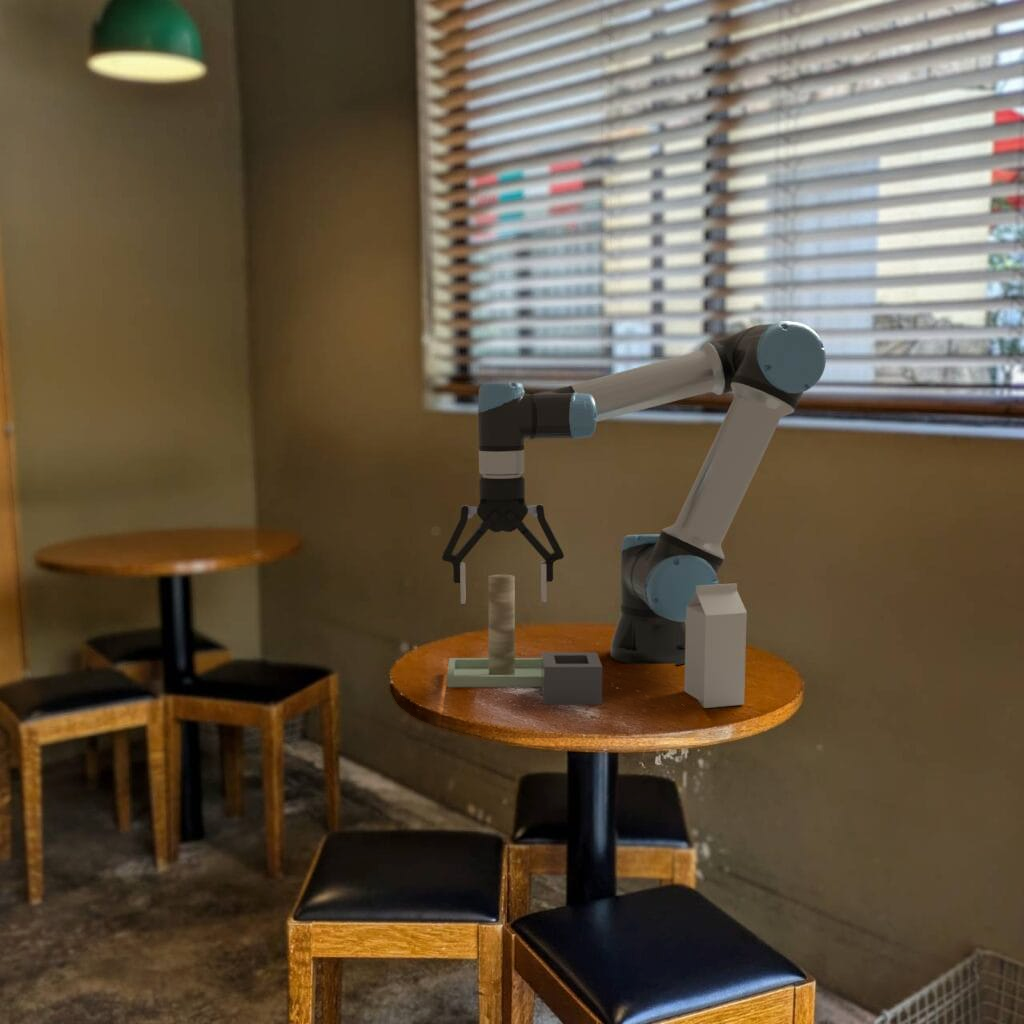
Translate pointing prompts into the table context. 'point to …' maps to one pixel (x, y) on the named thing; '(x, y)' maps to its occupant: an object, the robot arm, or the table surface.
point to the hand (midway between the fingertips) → (503, 601)
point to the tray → (477, 675)
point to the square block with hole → (571, 678)
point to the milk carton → (715, 646)
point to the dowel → (501, 624)
